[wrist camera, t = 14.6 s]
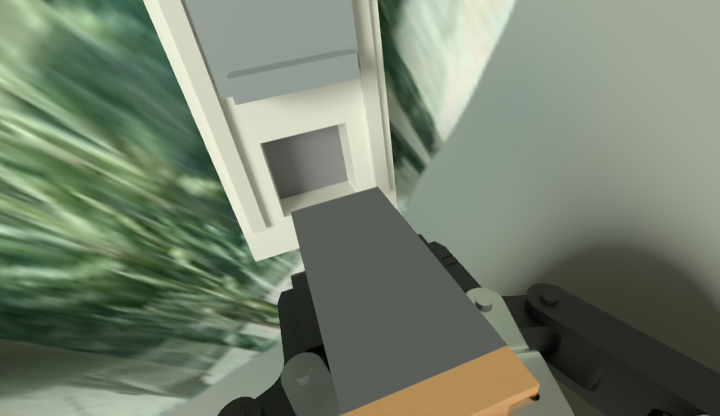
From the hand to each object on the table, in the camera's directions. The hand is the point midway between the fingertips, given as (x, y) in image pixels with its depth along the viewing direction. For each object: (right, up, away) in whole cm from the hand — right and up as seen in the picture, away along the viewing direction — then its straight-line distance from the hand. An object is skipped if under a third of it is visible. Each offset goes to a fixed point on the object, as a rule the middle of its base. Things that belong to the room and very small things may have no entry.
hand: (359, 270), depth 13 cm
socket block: (-5, +10, +11) cm, 15 cm away
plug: (-1, +1, +2) cm, 3 cm away
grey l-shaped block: (-5, +13, +4) cm, 14 cm away
